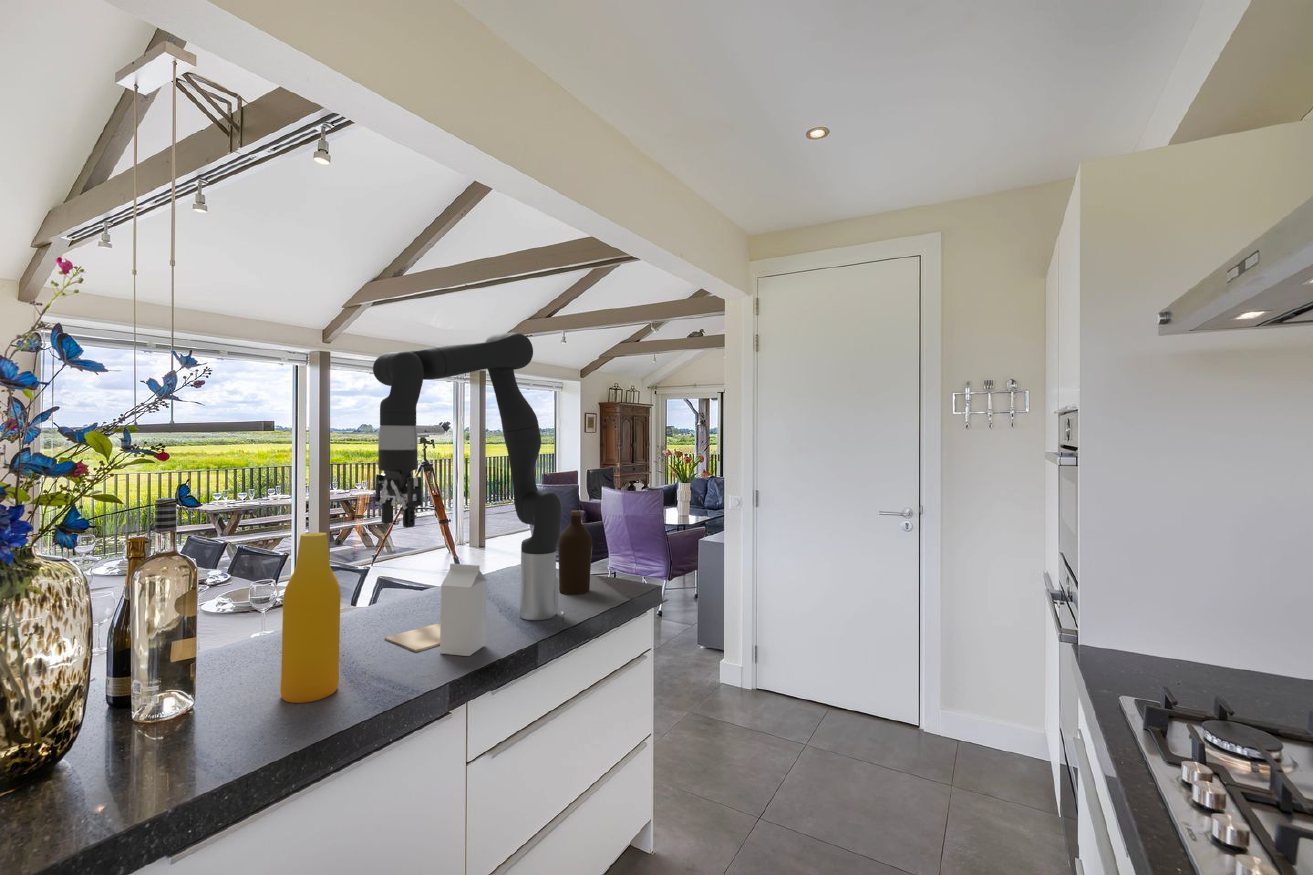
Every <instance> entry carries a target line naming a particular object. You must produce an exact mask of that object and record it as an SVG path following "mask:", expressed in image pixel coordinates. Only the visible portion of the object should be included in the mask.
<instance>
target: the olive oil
mask: <svg viewBox="0 0 1313 875" xmlns="http://www.w3.org/2000/svg"><path fill="white" fill-rule="evenodd" d="M569 519H570V521H569V524H568V525H567V526H566V527H565V528H564V529H563V530H562V532H560V535H559V540H558V543H557V551H558V552H557V553H558V593H560V594H564V595H570V596H571V595H572V596H574V595H575V596H576V595H577V596H578V595H584V594H587V593H589V592H590V586H591V583H590V582H591V571H592V570H591V569H592V555H593V554H592V553H593V538H592V535H591V533H590V532H589V530H588V529H587V528H586V527H585V526H584V525H583V524H582V510H571V511H570V518H569Z"/></svg>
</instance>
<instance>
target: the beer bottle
mask: <svg viewBox="0 0 1313 875" xmlns="http://www.w3.org/2000/svg"><path fill="white" fill-rule="evenodd" d="M327 534H328V533H326V532H309V533H308V532H307V533H302V534H300V538H299V543H298V548H297V556H296V563H295V569H294V571H293V573H292V575H291V577H290V578H289V580H288V582H287V584H286V586H285V588H284V593H283V598H282V625H281V626H282V629H281V632H282V633H281V634H282V635H281V638H282V639H281V667H280V668H281V670H280V671H281V673H280V675H281V676H280V691H279V692H280V696H281V698H282V700H283V701H285V702H287V703H293V704H304V703H311V702H317V701H319V700H322V699H325V698H328V697H330V696H331V695H333V694H334V693H336V692H337V690H338V687H339V683H340V633H341V631H340V629H341V627H340V626H341V597H342V596H341V594H342V593H341V588H340V584H339V581H338V579H337V578H336V575H335V573H334V571H333V569H332V568H331V563H330V562H331V561H330V553H329V543H328V535H327Z"/></svg>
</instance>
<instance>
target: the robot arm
mask: <svg viewBox="0 0 1313 875" xmlns="http://www.w3.org/2000/svg"><path fill="white" fill-rule="evenodd" d="M533 356H534V347H533V344H532V342H531V340H530V339H529V338H528V336H526V335H525V334H524V333H520V332H505V333H497V334H492V335H490V336H489V337H487V338H486V340H485V341H484V342H475V343H461V344H460V343H459V344H449V345H448V344H446V345H439V346H434V347H433V346H431V347H427V348H423V349H418V350H411V351H410V350H403V351H395V352H394V351H393V352H385V353H383V354H381V355H380V356H378V357H377V358H376V359H375V361H374V363H373V365H372V373H373V375H374V377H375V379H376V380H377V381H378V382H379V383H381V384H382V385H385V386H389V387H390V390H389V395H388V396H387V397H385V398H383V399H382V400H381V401H380V403H379V404H380V405H379V431H378V443H377V444H378V449H377V450H378V451H377V452H378V454H377V455H378V456H377V458H378V466H377V467H378V470H379V471H383V472H384V473H378V474H376V475H375V493H374V494H375V496H374V497H375V502H376V503H379V506H381V523H382V524H392V523H393V522H394V503H395V499H397V500H398V501H400V503H401V506H402V527H404V528H412V527H415V525H416V515H415V514H416V509H417V508H418V507H421V506H422V505H423V496H422V491H423V490H422V489H423V488H422V477H421V476H412V474H413V473H412V472H413V471H416V470H417V469H418V450H419V449H418V441H419V440H418V439H419V438H418V437H419V436H418V431H417V406H418V402H419V398H420V395H421V390H422V387H423V383H424V381H425V380H439V379H444V378H449V377H454V376H455V377H456V376H460V375H464V374H467V373H473V372H478V371H482V370H487V371H488V372H487V373H488V374H489V378H490V381H491V384H492V387H493V388H492V389H493V391H494V395H495V398H496V403H497V406H498V412H499V416H500V422H501V427H502V428H501V429H502V432H503V438H504V442H505V446H506V450H507V451H506V452H507V457H508V461H509V462H508V463H509V466H510V467H509V468H510V472H511V473H510V474H511V479H512V488H513V489H512V490H513V499H514V501H513V502H514V509H515V513H516V516H517V518H518V519H519V521H520V522H521V523H523V524H526V525H530V526H533V531H532V535H531V536H530V537H528V538H525V539H524V540H522V541H521V546H520V548H521V549H520V592H519V599H520V600H519V617H520V618H521V619H523V620H527V621H542V620H543V621H544V620H549V619H553V618H554V616H556V615H557V614H559V577H557V576H556V575H557V547H558V540H559V536H560V534H561V518H562V505H561V500H560V498H559V496H558V495H557V494H555V493H554V492H553V491H552V492H551V491H543V490H539V489H538V487H537V486H538V485H537V482H536V474H535V468H536V463H537V461H538V457H539V454H540V451H541V448H542V436H541V435H542V434H541V431H540V426H539V421H538V416H537V415H536V413H535V410H534V409H533V408H532V406H531V404H530V403H529V401H527V399H526V397H525V396H524V395H523V393H522V392H521V389H520V387H519V386H518V383H517V379H516V375H515V370H520V369H522V368H525V367H527V366H528V365H529V364H530V363H531V361H532V359H533ZM415 497H416V498H415Z"/></svg>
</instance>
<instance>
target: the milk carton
mask: <svg viewBox="0 0 1313 875" xmlns="http://www.w3.org/2000/svg"><path fill="white" fill-rule="evenodd" d="M480 569H481V568H480V565H479V564H463V563H462V564H461V563H449V569H448V571H447V572H446V573H447V574H446V576H445V577H444V579H443V581H442V583H441V585H440V586H441V589H440V623H441V624H440V645H439V654H444V655H451V656H453V655H454V656H461V657H462V656H464V657H470V656H472V655H473V654H474V653H476V652H477V651H479V650H481V649H482V648H484V647H485V646H486V625H487V624H486V620H487V618H486V616H487V614H486V613H487V579H486V577H485V575H484V574H483V573H482V572H481V570H480Z"/></svg>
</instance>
